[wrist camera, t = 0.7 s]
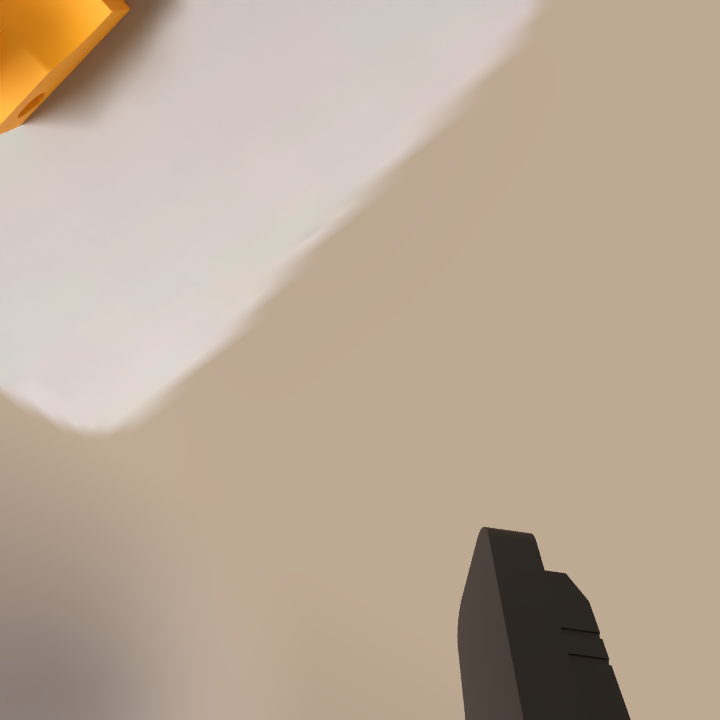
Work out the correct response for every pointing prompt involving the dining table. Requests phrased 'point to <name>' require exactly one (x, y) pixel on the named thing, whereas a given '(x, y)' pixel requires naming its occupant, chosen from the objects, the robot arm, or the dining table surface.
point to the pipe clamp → (46, 48)
